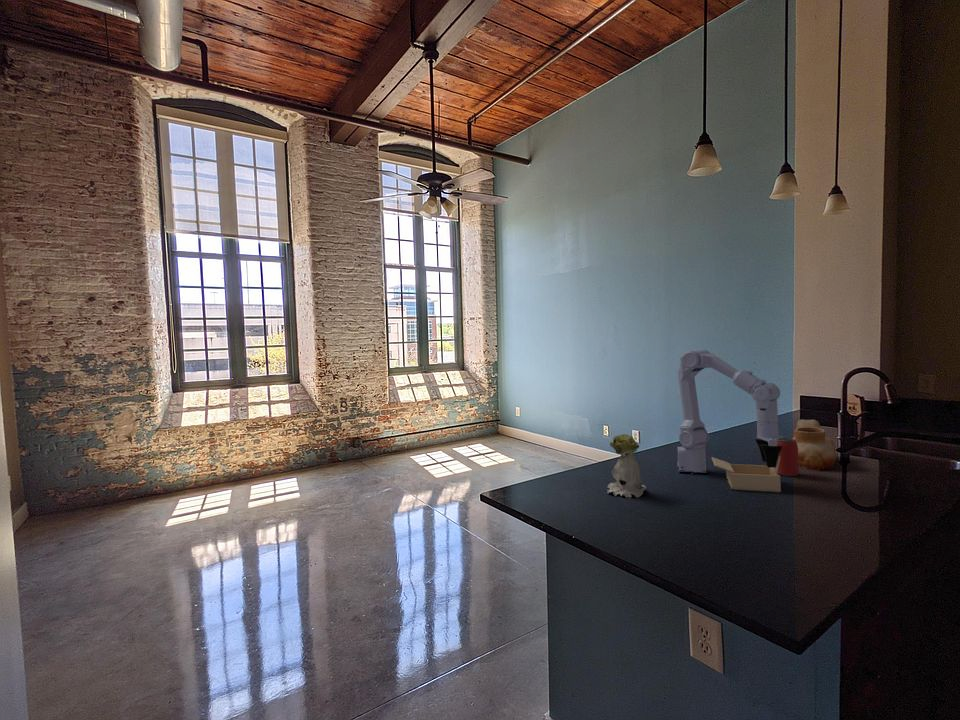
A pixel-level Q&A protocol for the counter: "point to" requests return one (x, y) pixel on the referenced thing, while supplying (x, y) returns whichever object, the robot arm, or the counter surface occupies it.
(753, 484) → the cardboard box
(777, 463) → the flap
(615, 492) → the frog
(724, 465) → the flap
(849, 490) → the counter surface
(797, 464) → the beer can
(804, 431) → the ceramic vessel
